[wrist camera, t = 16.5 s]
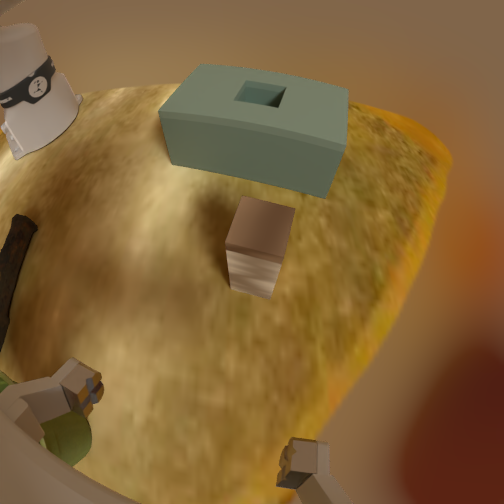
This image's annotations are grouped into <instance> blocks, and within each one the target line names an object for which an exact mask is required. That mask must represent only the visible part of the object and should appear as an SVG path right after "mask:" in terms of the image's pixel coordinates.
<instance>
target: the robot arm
mask: <svg viewBox="0 0 504 504" xmlns="http://www.w3.org/2000/svg"><path fill="white" fill-rule="evenodd" d="M23 1H25V0H0V16H1V15H2V14H4V13H5V12H7V11H9V10H10V9H11V8H13V7H15V6H16V5H18V4H20V3H21V2H23ZM55 70H56V69H55V67H54V63H53V60H52V59H51V57H50V56H48V55H47V53H46V50H45V47H44V45H43V42H42V39H41V36H40V33H39V30H38V28H37V27H36V26H35V25H34V24H31V23H21V24H15V25H11V26H6V27H2V26H0V103H1V106H2V107H3V108H4V118H5V120H6V121H5V122H4V123H3V124H2V125H1V129H2V130H3V132H4V134H6V133H7V134H6V137H7V140H8V143H9V146H10V149H11V151H12V154H13V157H14V158H15V160H17V159H19V158H21V157H22V156H24V155H25V154H27V153H29V152H32V151H35V150H38V149H40V148H42V147H44V146H45V145H47V144H48V143H50V142H51V141H53V140H54V139H55V138H57V137H58V136H59V135H60V134H61V133H62V132H64V131H65V130H66V129H67V128H68V127H69V125H70V124H71V123H72V122H73V120H74V119H75V117H76V116H77V113H78V107H79V104H80V103H81V101H82V99H83V98H82V96H81V95H80V94H78V95H75V94H74V92H73V91H72V88H71V86H70V84H69V82H68V81H67V78H66V76H65V75H64V74H63V73H57V72H55ZM101 379H102V376H101V373H100V372H98V371H96V370H94V369H92V368H90V367H89V366H87V365H85V364H83V363H82V362H80V361H78V360H77V359H75V358H70V359H69V360H68V361H67V362H66V363H65V364H64V365H63V366H62V367H61V368H60V369H59V370H58V371H57V372H56V373H55V374H54V375H53V376H52V377H51V378H50V377H44V378H40V379H35V380H31V381H27V382H23V383H18V384H14V385H9V386H7V387H6V388H5V389H4V390H3V391H2V392H1V393H0V504H141V503H139V502H136V501H134V500H132V499H130V498H128V497H126V496H123V495H121V494H119V493H117V492H115V491H113V490H111V489H109V488H107V487H106V486H104V485H102V484H100V483H98V482H96V481H95V480H93V479H91V478H89V477H88V476H86V475H84V474H83V473H81V472H79V471H78V470H76V469H75V468H73V467H71V466H70V465H68V464H67V463H65V462H64V461H62V460H61V459H60V458H58V457H57V456H55V455H54V454H52V453H51V452H50V451H48V450H47V449H46V448H44V447H43V446H42V445H40V444H39V442H40V440H41V439H42V438H43V436H44V435H45V434H44V431H43V429H42V428H41V426H40V424H41V423H43V422H46V421H48V420H51V419H53V418H56V417H58V416H61V415H63V414H66V413H68V412H70V411H71V410H72V411H73V412H75V413H77V414H78V415H80V416H82V417H84V418H85V419H86V418H87V417H88V416H89V414H90V413H91V412H92V410H93V404H96V403H98V402H99V401H100V400H101V398H102V396H103V393H104V386H103V384H102V382H101V381H100V380H101ZM329 462H330V460H329V443H328V442H324V441H316V440H310V439H302V438H295V437H292V438H290V440H289V442H288V445H287V446H285V447H284V449H283V451H282V453H281V456H280V461H279V466H280V467H281V470H280V471H279V473H278V475H277V483H276V486H277V487H283V488H289V489H296V492H297V494H298V496H299V498H300V500H301V502H302V504H354V503H353V502H352V501H351V499H350V498H349V497H348V495H347V494H346V493H345V491H344V490H343V489H342V487H341V486H340V485H339V483H338V482H337V480H336V479H335V478H334V476H332V475H330V463H329Z"/></svg>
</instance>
